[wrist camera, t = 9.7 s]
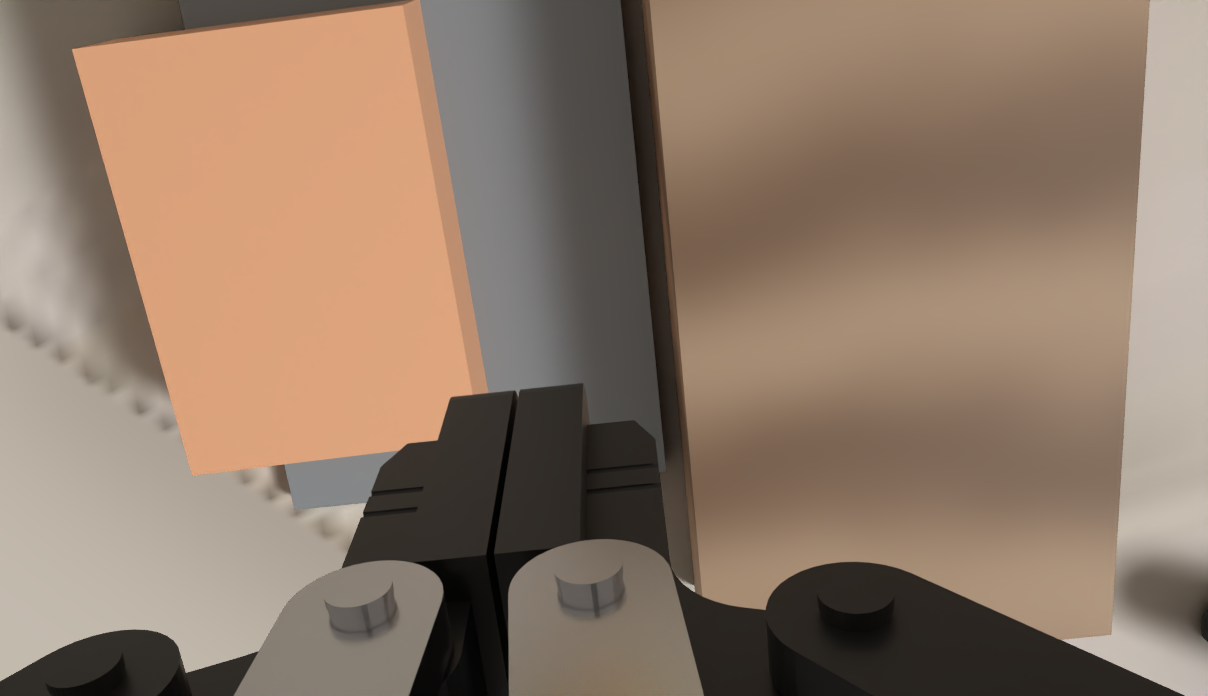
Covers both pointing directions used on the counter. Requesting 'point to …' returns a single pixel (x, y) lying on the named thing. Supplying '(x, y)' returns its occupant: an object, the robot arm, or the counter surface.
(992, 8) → the panel
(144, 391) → the counter surface
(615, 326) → the slate mat
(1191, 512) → the counter surface
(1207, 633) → the can opener
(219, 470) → the terracotta tile
